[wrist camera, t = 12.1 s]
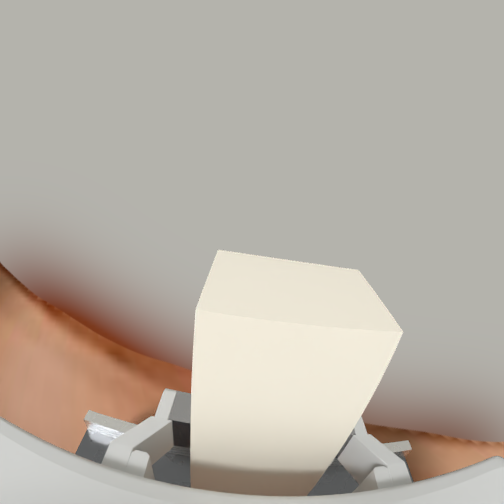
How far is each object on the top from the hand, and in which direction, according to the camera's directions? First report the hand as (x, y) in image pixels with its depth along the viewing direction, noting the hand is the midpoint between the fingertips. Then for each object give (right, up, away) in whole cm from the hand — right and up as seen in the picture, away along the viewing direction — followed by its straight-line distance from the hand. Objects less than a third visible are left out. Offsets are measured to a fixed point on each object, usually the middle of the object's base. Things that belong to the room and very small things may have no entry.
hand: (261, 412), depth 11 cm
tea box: (-1, -7, +2) cm, 8 cm away
